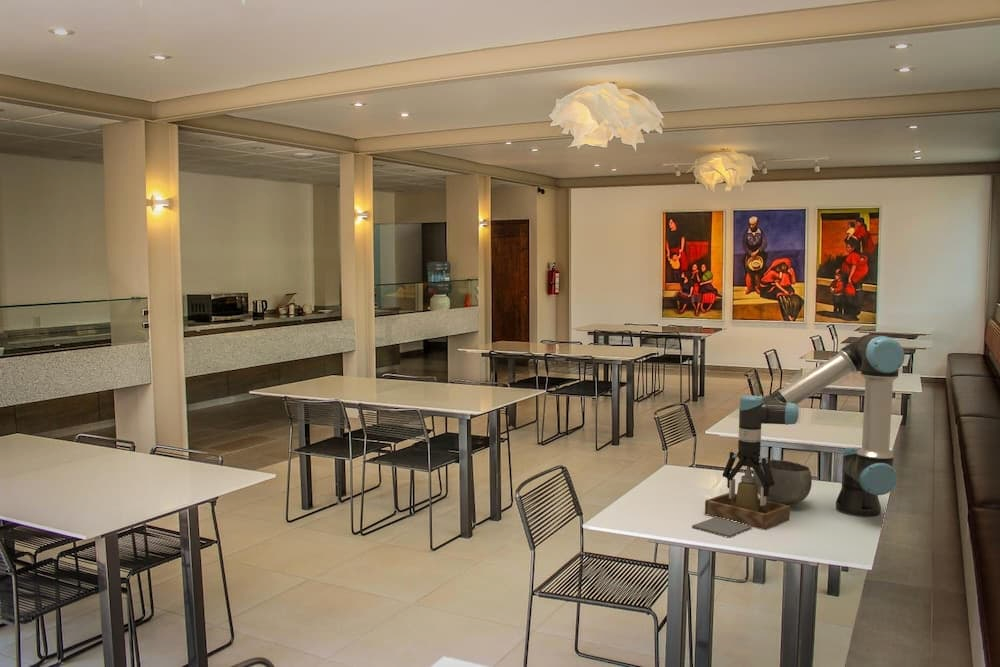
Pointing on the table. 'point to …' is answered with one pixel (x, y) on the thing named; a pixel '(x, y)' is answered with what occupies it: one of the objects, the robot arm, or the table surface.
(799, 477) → the bowl
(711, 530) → the charcoal mat
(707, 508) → the tray
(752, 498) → the squeeze bottle
